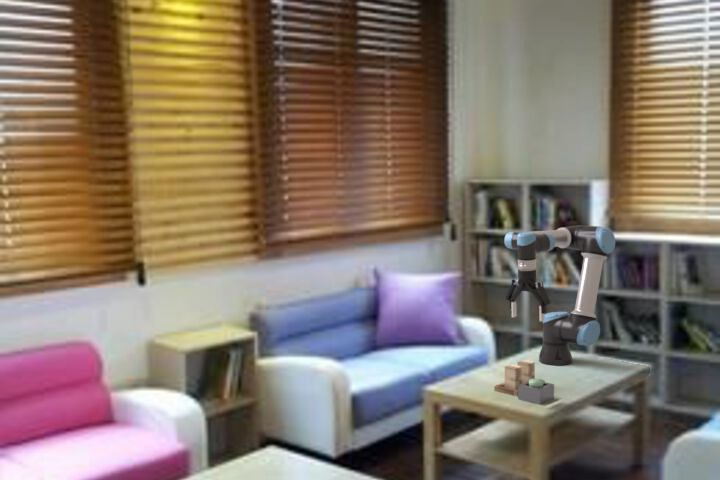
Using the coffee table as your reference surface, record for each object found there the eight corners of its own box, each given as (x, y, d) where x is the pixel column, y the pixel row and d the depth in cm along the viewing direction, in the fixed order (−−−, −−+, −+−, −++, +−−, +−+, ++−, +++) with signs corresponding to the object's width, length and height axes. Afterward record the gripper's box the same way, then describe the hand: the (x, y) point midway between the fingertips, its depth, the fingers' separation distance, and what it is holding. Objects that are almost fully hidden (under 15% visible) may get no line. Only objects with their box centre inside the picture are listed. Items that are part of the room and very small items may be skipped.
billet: (524, 383, 348) (524, 359, 347) (534, 385, 345) (534, 361, 344) (517, 385, 345) (517, 362, 344) (527, 387, 341) (528, 364, 340)
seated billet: (511, 387, 342) (511, 364, 341) (521, 390, 338) (522, 366, 337) (504, 390, 338) (504, 366, 337) (514, 393, 335) (514, 368, 334)
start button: (533, 385, 330) (533, 377, 330) (546, 387, 326) (546, 380, 326) (526, 388, 326) (526, 380, 326) (538, 391, 322) (538, 383, 322)
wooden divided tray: (522, 383, 352) (522, 375, 352) (544, 388, 345) (544, 380, 344) (494, 393, 338) (494, 386, 338) (517, 399, 331) (517, 391, 330)
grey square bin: (532, 396, 334) (532, 379, 333) (553, 401, 327) (554, 384, 326) (518, 402, 327) (518, 384, 326) (539, 407, 320) (540, 389, 319)
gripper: (496, 268, 353) (498, 316, 356) (548, 273, 336) (549, 324, 339) (506, 265, 358) (507, 313, 361) (558, 270, 341) (558, 320, 344)
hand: (527, 318), depth 350 cm, fingers open, 13 cm apart
